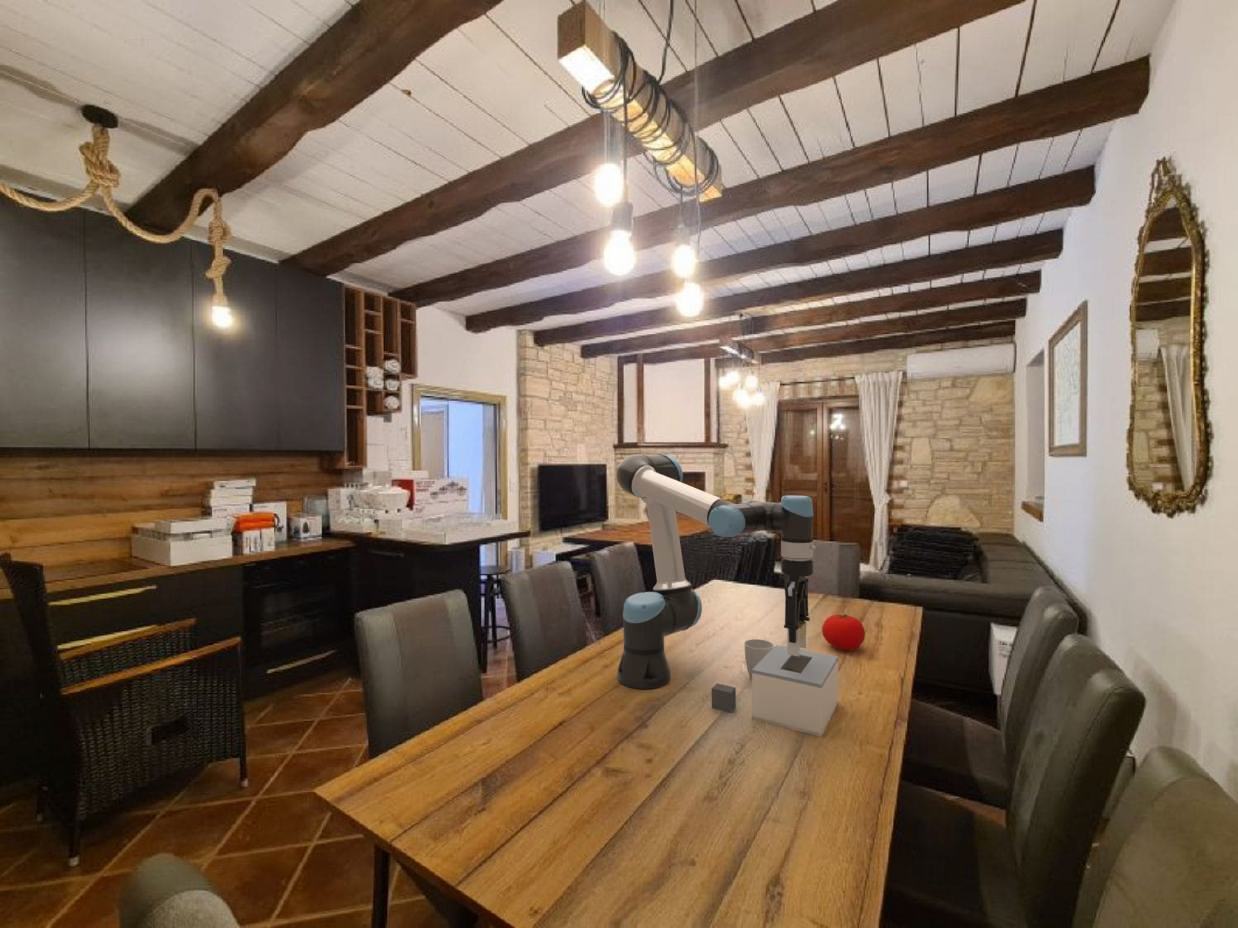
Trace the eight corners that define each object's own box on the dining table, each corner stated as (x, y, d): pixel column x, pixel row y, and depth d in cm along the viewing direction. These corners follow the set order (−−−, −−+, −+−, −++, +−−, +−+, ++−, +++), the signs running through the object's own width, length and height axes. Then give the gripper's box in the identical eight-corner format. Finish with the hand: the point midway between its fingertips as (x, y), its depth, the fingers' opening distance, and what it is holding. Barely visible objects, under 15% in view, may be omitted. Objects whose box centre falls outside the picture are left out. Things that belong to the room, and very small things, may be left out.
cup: (774, 685, 150) (774, 649, 150) (744, 683, 151) (744, 647, 151) (772, 674, 158) (772, 640, 157) (743, 671, 159) (743, 638, 159)
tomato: (873, 651, 176) (873, 617, 176) (841, 656, 171) (841, 622, 171) (845, 639, 187) (845, 608, 187) (815, 644, 182) (815, 612, 182)
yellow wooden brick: (787, 638, 133) (787, 626, 133) (794, 631, 138) (794, 619, 138) (800, 640, 131) (800, 628, 131) (806, 633, 136) (806, 621, 136)
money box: (752, 718, 131) (752, 669, 131) (775, 688, 148) (776, 644, 148) (821, 737, 122) (821, 684, 122) (838, 702, 139) (838, 656, 139)
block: (711, 707, 137) (711, 688, 137) (716, 702, 140) (717, 683, 140) (730, 712, 134) (730, 692, 134) (735, 707, 137) (735, 687, 137)
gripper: (803, 566, 124) (803, 666, 125) (821, 553, 141) (821, 642, 141) (770, 562, 128) (770, 659, 129) (791, 550, 145) (791, 637, 145)
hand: (797, 650), depth 135 cm, fingers closed on yellow wooden brick, 6 cm apart
